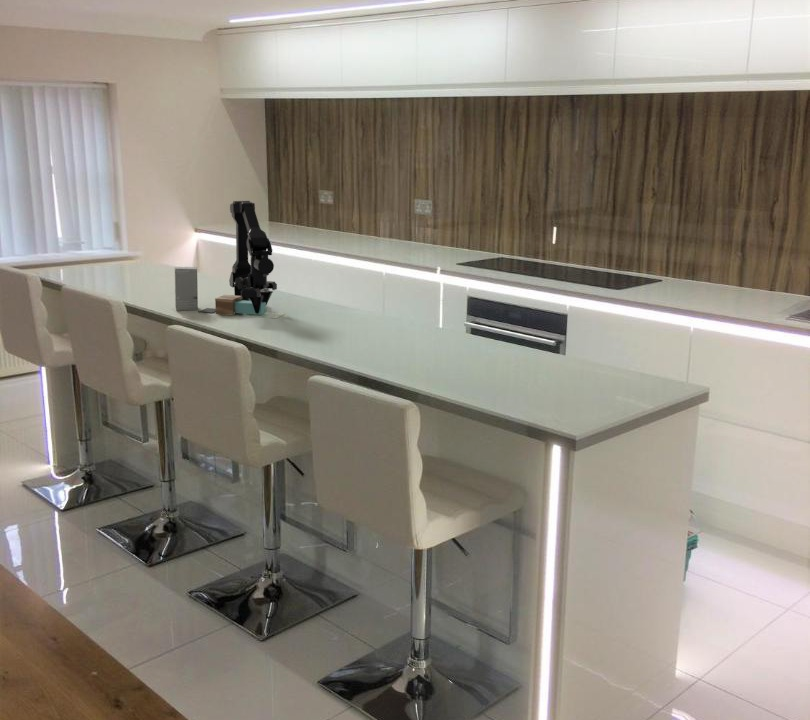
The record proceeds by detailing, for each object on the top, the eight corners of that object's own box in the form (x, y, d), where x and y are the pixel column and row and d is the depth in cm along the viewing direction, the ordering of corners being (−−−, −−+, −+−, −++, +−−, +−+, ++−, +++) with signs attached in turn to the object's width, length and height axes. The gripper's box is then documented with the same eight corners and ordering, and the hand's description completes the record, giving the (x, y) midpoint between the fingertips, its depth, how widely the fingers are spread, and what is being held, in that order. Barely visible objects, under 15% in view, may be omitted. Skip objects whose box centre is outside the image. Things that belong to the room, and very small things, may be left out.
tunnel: (225, 309, 338) (225, 294, 336) (242, 311, 336) (242, 295, 334) (215, 313, 330) (215, 298, 329) (233, 315, 328) (232, 299, 327)
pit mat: (207, 308, 339) (207, 307, 339) (221, 309, 338) (221, 309, 338) (198, 312, 333) (198, 311, 333) (212, 313, 331) (212, 312, 331)
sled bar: (231, 310, 335) (231, 299, 334) (266, 312, 331) (265, 302, 330) (226, 312, 331) (225, 301, 330) (261, 314, 327) (260, 304, 326)
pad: (252, 311, 335) (252, 311, 335) (284, 314, 331) (284, 313, 331) (243, 316, 327) (243, 315, 327) (276, 318, 324) (276, 318, 324)
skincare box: (176, 311, 334) (173, 268, 330) (175, 307, 341) (173, 266, 337) (199, 310, 336) (197, 268, 332) (198, 306, 343) (196, 265, 339)
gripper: (249, 265, 336) (250, 305, 340) (226, 272, 319) (228, 315, 323) (277, 266, 333) (277, 308, 337) (255, 274, 316) (256, 317, 320)
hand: (259, 312), depth 330 cm, fingers closed on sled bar, 4 cm apart
